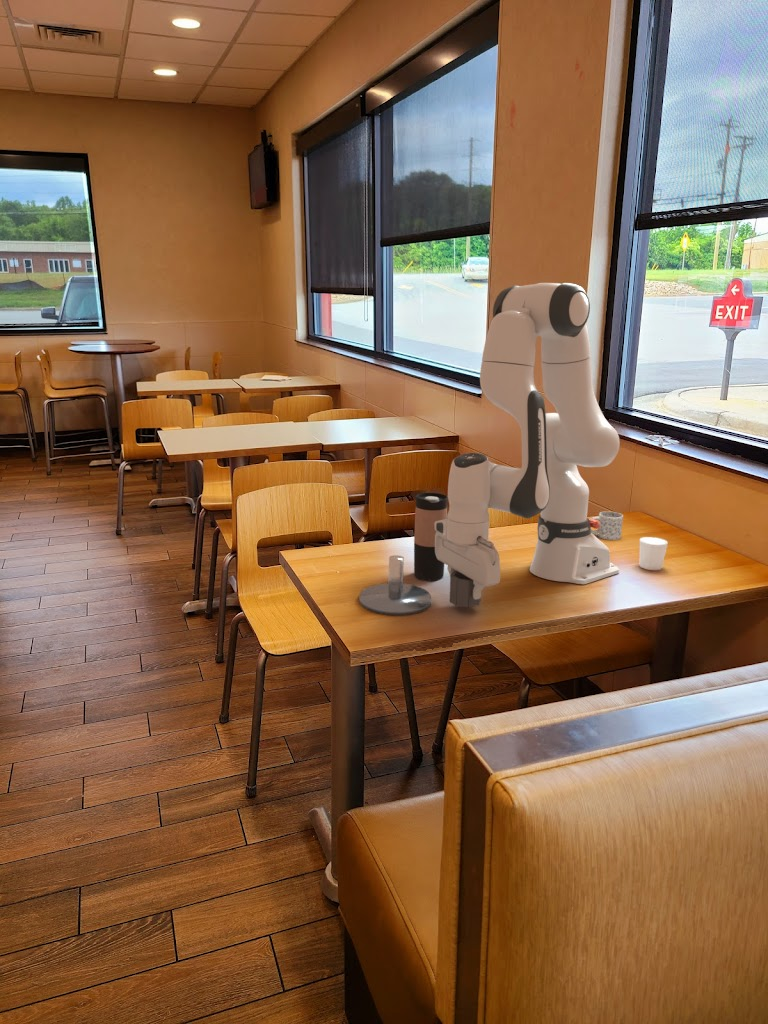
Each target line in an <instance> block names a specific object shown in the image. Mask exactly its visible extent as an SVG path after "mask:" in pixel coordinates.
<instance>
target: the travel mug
mask: <svg viewBox="0 0 768 1024" xmlns="http://www.w3.org/2000/svg"><path fill="white" fill-rule="evenodd" d="M414 510H415V512H414V513H415V514H414V535H413V537H414V539H413V542H414V543H413V567H414V568H413V574H414V578H416V579H418V580H421V581H427V582H433V581H434V582H435V581H438V580H442V579H443V578H444V572H445V563H443V562H441V561H439V560H438V559H437V557H436V554H435V534H436V532H437V531H436V530H435V527H434V524H435V522H436V521H439V520H444V519H447V514H448V495H446V494H443V493H437V492H422V493H419V494H417V495H415V509H414Z"/></svg>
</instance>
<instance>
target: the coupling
mask: <svg viewBox="0 0 768 1024" xmlns="http://www.w3.org/2000/svg"><path fill="white" fill-rule="evenodd" d="M449 578H450V579H449V581H450V582H449V602H450V603H451V604H453V605H454V606H456V607H463V608H472V607H475V606H476V607H477V606H479V605H480V603H481V602H482V597H481V598H480V599H476V600H475V599H474V598H472V597H471V596H470V595H471V590H472V589H474V586H475V585H474V584H473V581H474V580H472V579H470V578H469V577H467V576H465V575H464V574H462V573H460V572H458V571H453V572H452V574H451V575H449Z"/></svg>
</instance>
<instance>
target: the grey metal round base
mask: <svg viewBox="0 0 768 1024" xmlns="http://www.w3.org/2000/svg"><path fill="white" fill-rule="evenodd" d="M404 561H405V559H404V556H402V555H397V554H396V555H395V554H394V555H390V556H389V558H388V583H387V582H386V583H378V584H373V585H371V586H368V587H366V588H364V589H362V590H361V591H360V593H359V600H358V601H359V604H360V606H361V607H362V608H363V609H365V610H366V611H367V610H368V611H369V612H372V613H375V614H380V615H386V616H409V615H410V616H411V615H415V614H419V613H422V612H424V611H426V610H428V609H429V608H430V607H431V605H432V595H431V593H430V592H429V591H428V590H426V589H424V588H422V587H420V586H416V585H413V584H409V583H408V584H407V583H404Z"/></svg>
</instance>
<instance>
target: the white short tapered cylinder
mask: <svg viewBox="0 0 768 1024" xmlns="http://www.w3.org/2000/svg"><path fill="white" fill-rule="evenodd" d="M668 544H669V543H668V541H667V540H666V539H664V538H661V537H655V536H652V537H651V536H643V537H640V538H639V554H638V555H639V557H638V558H639V561H638V563H639V564H638V566H639V567H640V568H643V569H644V570H648V571H650V570H651V571H660V570H662V569H663V565H664V561H665V557H666V552H667V548H668Z"/></svg>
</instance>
